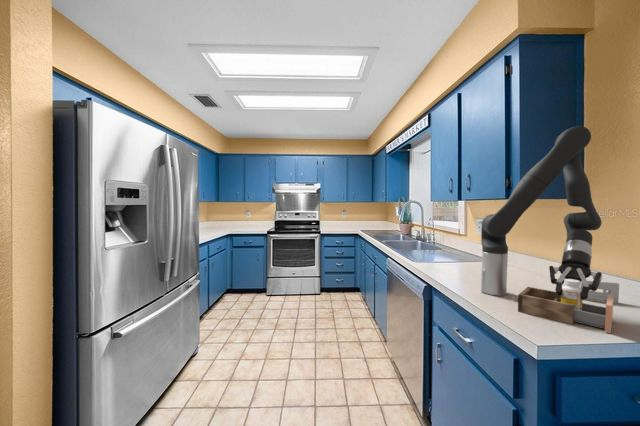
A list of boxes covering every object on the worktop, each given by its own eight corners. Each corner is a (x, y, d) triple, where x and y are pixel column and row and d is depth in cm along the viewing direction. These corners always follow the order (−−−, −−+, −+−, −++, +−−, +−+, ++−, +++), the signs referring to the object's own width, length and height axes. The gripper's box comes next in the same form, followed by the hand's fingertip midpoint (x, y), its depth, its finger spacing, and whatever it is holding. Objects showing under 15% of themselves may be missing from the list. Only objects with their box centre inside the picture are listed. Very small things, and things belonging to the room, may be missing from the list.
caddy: (578, 313, 100) (578, 296, 100) (572, 324, 91) (573, 305, 91) (527, 302, 111) (527, 286, 111) (517, 311, 102) (518, 294, 101)
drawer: (612, 319, 94) (613, 295, 94) (610, 332, 84) (611, 306, 84) (556, 307, 105) (557, 285, 104) (548, 318, 95) (549, 294, 95)
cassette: (580, 300, 114) (581, 280, 114) (578, 298, 116) (579, 279, 116) (619, 303, 110) (620, 283, 110) (616, 302, 112) (617, 282, 112)
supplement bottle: (571, 305, 99) (572, 277, 99) (586, 311, 94) (587, 282, 93) (556, 306, 99) (557, 278, 99) (570, 312, 94) (571, 282, 93)
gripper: (550, 246, 106) (542, 285, 98) (605, 251, 95) (601, 295, 88) (552, 259, 110) (545, 297, 102) (605, 265, 99) (601, 308, 92)
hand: (570, 296), depth 95 cm, fingers closed on supplement bottle, 5 cm apart
